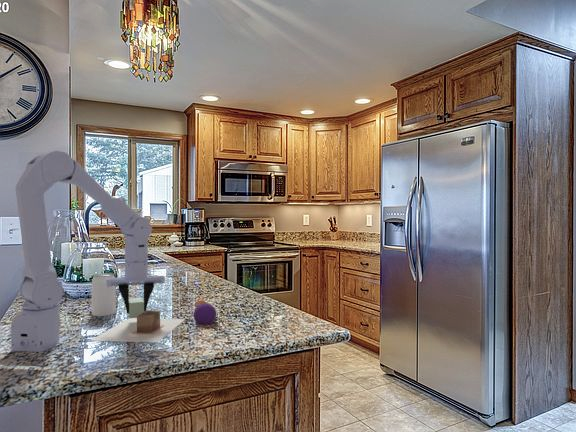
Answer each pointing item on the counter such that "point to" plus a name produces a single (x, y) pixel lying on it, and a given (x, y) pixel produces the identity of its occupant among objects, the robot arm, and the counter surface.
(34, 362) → the counter surface
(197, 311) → the kendama
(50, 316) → the robot arm
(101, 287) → the can
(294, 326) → the counter surface
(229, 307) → the counter surface
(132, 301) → the sage brick
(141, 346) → the counter surface
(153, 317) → the walnut brick
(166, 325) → the baseplate
